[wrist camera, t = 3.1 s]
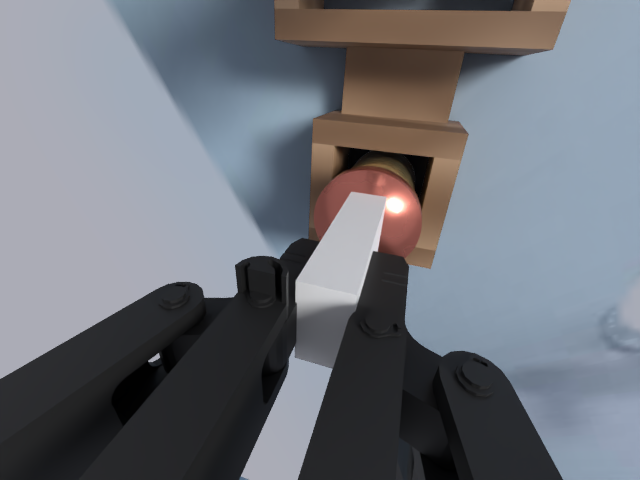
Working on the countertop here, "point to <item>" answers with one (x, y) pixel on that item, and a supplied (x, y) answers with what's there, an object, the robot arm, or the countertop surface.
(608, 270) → the countertop surface
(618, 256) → the countertop surface
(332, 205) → the copper-capped cylinder
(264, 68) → the countertop surface
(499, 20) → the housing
